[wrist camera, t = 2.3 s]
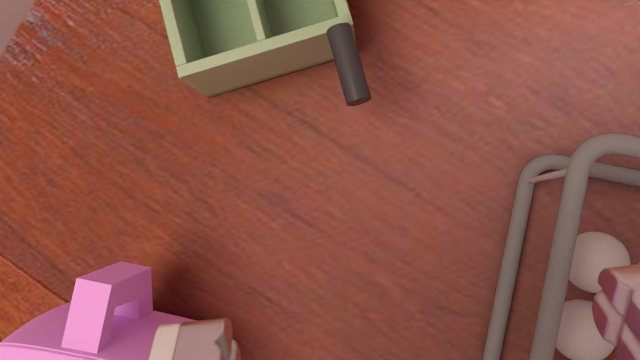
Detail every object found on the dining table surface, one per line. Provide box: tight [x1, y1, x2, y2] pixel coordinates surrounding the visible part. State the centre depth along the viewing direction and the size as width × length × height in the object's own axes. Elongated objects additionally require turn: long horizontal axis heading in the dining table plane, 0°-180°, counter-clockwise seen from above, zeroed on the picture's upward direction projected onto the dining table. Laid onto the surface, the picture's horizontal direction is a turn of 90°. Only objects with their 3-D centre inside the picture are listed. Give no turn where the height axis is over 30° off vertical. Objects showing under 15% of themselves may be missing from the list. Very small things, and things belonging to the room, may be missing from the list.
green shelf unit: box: [159, 0, 371, 106], centre depth 37 cm, size 7×14×12 cm
